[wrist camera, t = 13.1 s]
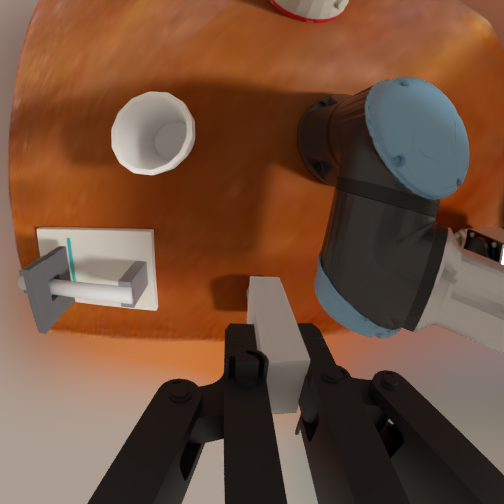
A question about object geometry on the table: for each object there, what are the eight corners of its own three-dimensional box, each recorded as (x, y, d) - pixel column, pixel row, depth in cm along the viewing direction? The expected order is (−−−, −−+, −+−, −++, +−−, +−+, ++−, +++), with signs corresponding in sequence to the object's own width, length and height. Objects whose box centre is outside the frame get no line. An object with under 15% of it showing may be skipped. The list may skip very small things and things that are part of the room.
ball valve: (434, 261, 48) (491, 298, 31) (439, 220, 45) (503, 248, 28) (482, 254, 49) (533, 282, 32) (487, 220, 46) (542, 242, 29)
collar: (59, 246, 37) (21, 269, 27) (65, 246, 37) (28, 270, 27) (68, 300, 40) (38, 332, 30) (75, 301, 41) (45, 333, 30)
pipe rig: (40, 227, 40) (5, 244, 30) (153, 229, 42) (131, 250, 32) (52, 294, 45) (24, 320, 34) (158, 306, 47) (142, 342, 36)
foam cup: (178, 99, 36) (157, 75, 24) (217, 141, 39) (211, 131, 27) (133, 141, 38) (96, 136, 25) (171, 183, 40) (146, 192, 28)
